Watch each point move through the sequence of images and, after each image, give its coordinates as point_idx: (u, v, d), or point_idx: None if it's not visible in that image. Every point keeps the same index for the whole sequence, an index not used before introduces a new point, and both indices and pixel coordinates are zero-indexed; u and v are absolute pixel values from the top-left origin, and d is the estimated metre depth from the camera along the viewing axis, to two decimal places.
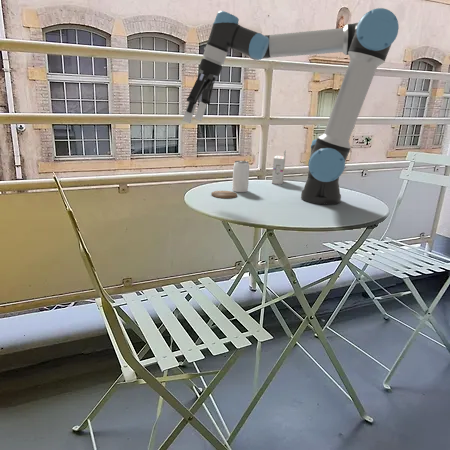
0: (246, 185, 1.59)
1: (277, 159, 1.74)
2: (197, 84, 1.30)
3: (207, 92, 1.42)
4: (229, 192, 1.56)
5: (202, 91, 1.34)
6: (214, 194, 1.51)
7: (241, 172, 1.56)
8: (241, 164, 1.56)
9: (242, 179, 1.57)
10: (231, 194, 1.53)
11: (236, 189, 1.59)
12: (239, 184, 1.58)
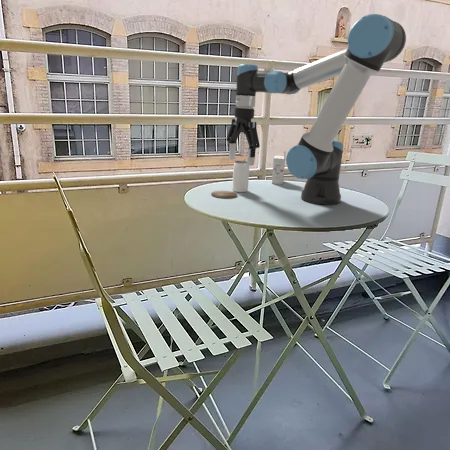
0: (246, 185, 1.59)
1: (277, 159, 1.74)
2: (253, 131, 1.48)
3: (239, 133, 1.58)
4: (229, 192, 1.56)
5: None
6: (214, 194, 1.51)
7: (241, 172, 1.56)
8: (241, 164, 1.56)
9: (242, 179, 1.57)
10: (231, 194, 1.53)
11: (236, 189, 1.59)
12: (239, 184, 1.58)
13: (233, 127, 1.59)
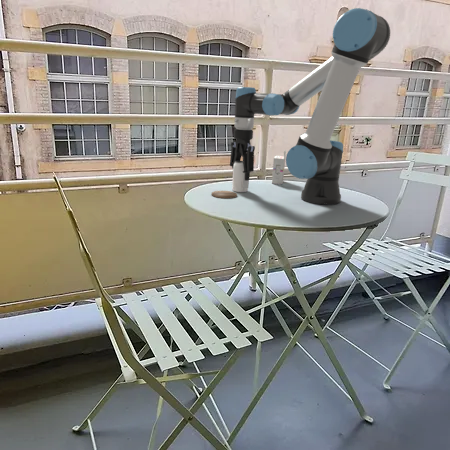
0: None
1: (277, 159, 1.74)
2: (250, 156, 1.52)
3: (240, 156, 1.60)
4: (229, 192, 1.56)
5: None
6: (214, 194, 1.51)
7: (241, 172, 1.56)
8: (241, 164, 1.56)
9: None
10: (231, 194, 1.53)
11: (236, 189, 1.59)
12: (239, 184, 1.58)
13: (234, 150, 1.61)
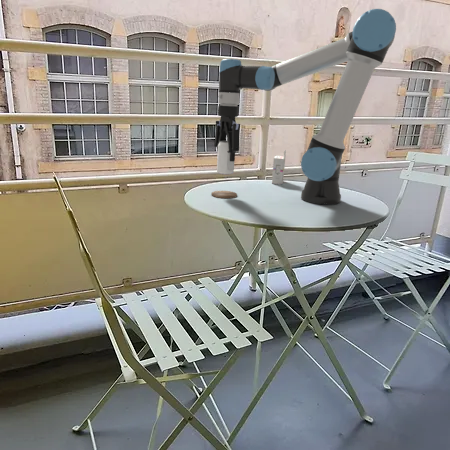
0: None
1: (277, 159, 1.74)
2: (235, 134, 1.41)
3: (225, 135, 1.49)
4: (229, 192, 1.56)
5: None
6: (214, 194, 1.51)
7: (225, 152, 1.45)
8: (226, 143, 1.45)
9: None
10: (231, 194, 1.53)
11: (221, 170, 1.48)
12: (224, 165, 1.47)
13: (218, 129, 1.50)
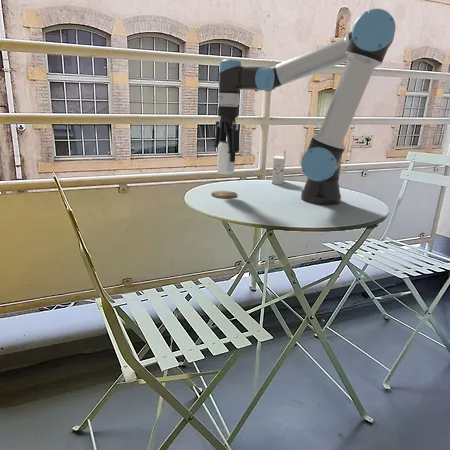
0: None
1: (277, 159, 1.74)
2: (235, 135, 1.41)
3: (225, 136, 1.49)
4: (229, 192, 1.56)
5: None
6: (214, 194, 1.51)
7: (225, 152, 1.45)
8: (226, 144, 1.45)
9: None
10: (231, 194, 1.53)
11: (221, 171, 1.48)
12: (224, 166, 1.47)
13: (218, 130, 1.50)
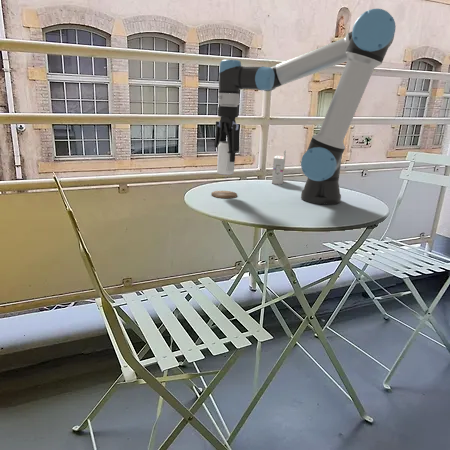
0: None
1: (277, 159, 1.74)
2: (235, 135, 1.41)
3: (225, 136, 1.49)
4: (229, 192, 1.56)
5: None
6: (214, 194, 1.51)
7: (225, 152, 1.45)
8: (226, 144, 1.45)
9: None
10: (231, 194, 1.53)
11: (221, 171, 1.48)
12: (224, 166, 1.47)
13: (218, 130, 1.50)
